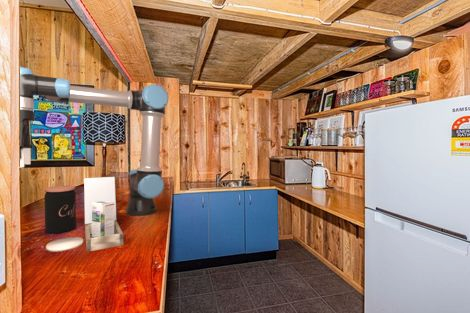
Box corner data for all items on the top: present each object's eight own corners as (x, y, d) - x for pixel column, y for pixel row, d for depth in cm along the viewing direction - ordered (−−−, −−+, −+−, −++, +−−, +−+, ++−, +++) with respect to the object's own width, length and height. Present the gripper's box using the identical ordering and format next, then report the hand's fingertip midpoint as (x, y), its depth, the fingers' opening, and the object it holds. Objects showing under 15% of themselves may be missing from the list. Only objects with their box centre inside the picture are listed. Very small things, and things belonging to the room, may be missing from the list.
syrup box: (90, 241, 94) (90, 202, 93) (104, 235, 99) (103, 199, 99) (102, 243, 92) (102, 204, 91) (115, 238, 97) (114, 201, 97)
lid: (116, 219, 106) (115, 219, 107) (114, 176, 109) (114, 177, 111) (84, 224, 100) (84, 224, 101) (84, 178, 103) (84, 178, 104)
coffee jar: (60, 235, 99) (59, 190, 98) (38, 233, 101) (37, 188, 100) (82, 227, 109) (81, 186, 108) (61, 225, 111) (60, 184, 110)
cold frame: (116, 229, 106) (116, 220, 106) (123, 244, 91) (123, 234, 91) (85, 234, 100) (84, 224, 100) (86, 251, 85) (86, 240, 85)
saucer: (82, 237, 98) (82, 235, 98) (83, 247, 88) (83, 245, 88) (47, 242, 92) (47, 240, 92) (44, 254, 82) (44, 251, 82)
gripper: (15, 112, 103) (17, 163, 104) (-2, 104, 82) (1, 169, 83) (38, 113, 107) (39, 163, 108) (28, 106, 86) (30, 168, 87)
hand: (23, 165), depth 96 cm, fingers open, 13 cm apart
